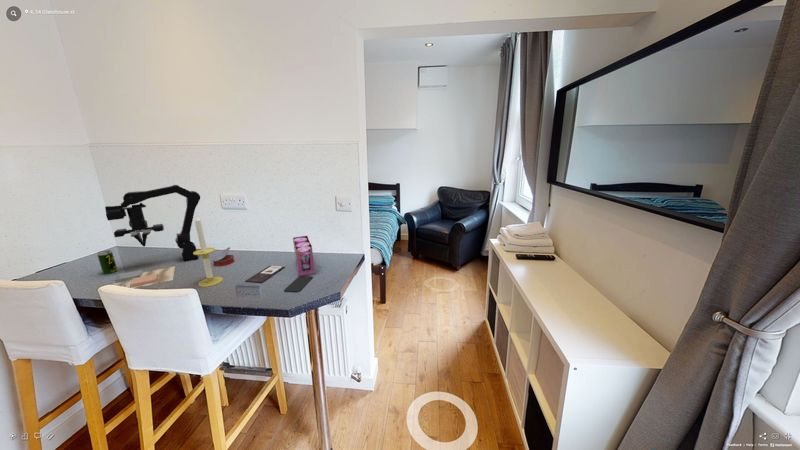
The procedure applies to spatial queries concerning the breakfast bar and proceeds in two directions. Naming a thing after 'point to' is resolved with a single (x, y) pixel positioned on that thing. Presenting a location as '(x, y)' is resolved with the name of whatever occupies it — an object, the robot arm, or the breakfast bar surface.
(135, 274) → the slate tile
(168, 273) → the oak board
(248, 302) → the breakfast bar surface
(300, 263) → the gum box
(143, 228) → the robot arm
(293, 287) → the phone
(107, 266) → the guarana soda can
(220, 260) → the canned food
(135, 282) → the terracotta tile
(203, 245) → the candle
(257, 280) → the chocolate bar
